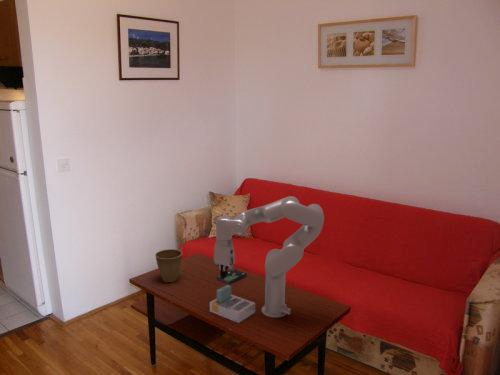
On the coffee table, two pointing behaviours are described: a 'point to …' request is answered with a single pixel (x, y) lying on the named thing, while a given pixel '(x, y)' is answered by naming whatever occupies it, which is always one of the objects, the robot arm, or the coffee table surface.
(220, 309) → the frame
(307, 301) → the coffee table surface
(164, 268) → the plant pot
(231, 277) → the disk drive
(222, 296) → the panel
